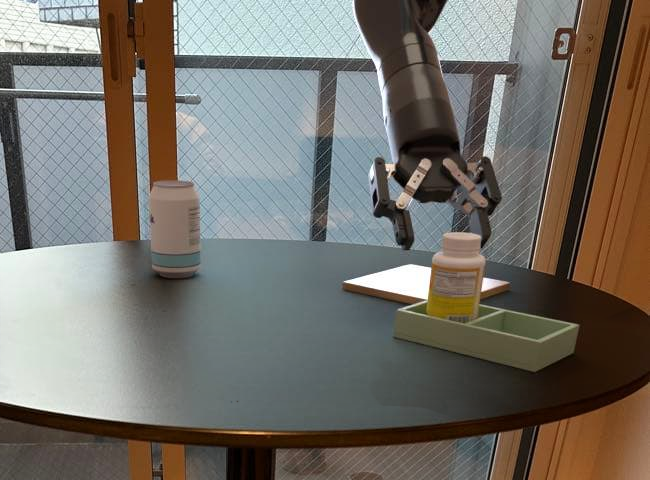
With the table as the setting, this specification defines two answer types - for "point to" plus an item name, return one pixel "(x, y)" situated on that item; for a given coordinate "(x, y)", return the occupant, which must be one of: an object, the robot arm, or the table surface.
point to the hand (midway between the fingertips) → (445, 245)
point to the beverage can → (175, 228)
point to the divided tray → (491, 335)
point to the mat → (409, 284)
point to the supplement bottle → (456, 278)
